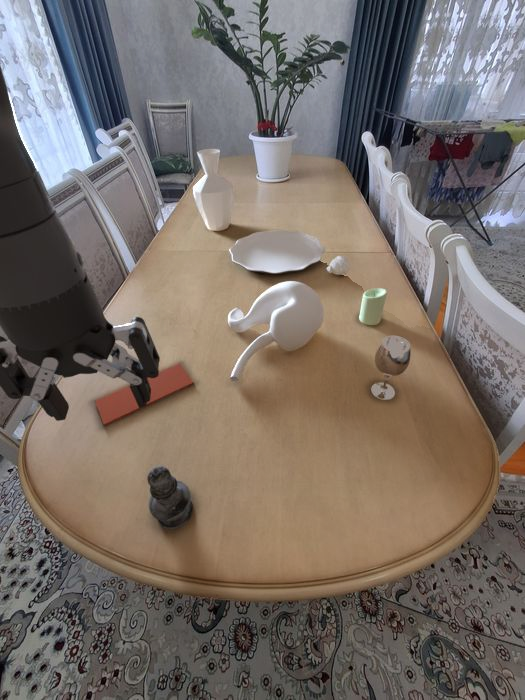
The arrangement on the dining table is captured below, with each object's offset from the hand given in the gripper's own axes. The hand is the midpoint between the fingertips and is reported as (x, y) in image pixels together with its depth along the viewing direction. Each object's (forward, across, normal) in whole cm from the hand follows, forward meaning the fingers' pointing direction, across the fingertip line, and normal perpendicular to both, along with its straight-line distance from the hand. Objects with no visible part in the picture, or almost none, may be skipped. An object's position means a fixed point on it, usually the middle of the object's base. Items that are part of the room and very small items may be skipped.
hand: (104, 407), depth 38 cm
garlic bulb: (+23, +48, +58) cm, 78 cm away
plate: (+22, +34, +74) cm, 84 cm away
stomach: (+22, +25, +32) cm, 47 cm away
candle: (+23, +49, +36) cm, 65 cm away
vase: (+22, +18, +103) cm, 107 cm away
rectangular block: (+22, -3, +23) cm, 32 cm away
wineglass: (+23, +42, +13) cm, 50 cm away
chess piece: (+22, +3, -2) cm, 23 cm away
